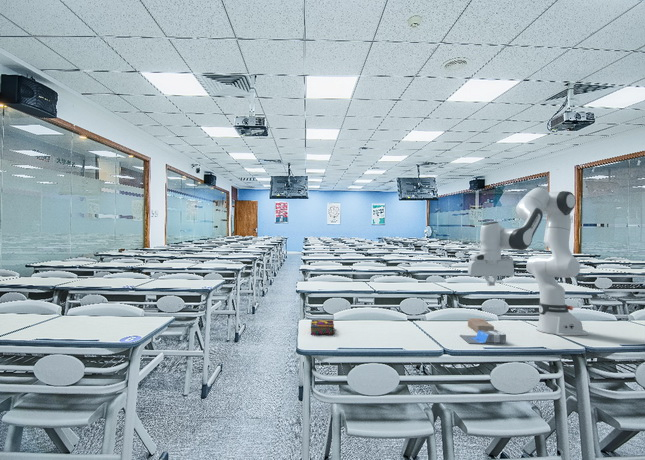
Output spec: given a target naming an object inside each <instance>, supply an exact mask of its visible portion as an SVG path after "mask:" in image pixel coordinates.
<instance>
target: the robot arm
mask: <svg viewBox="0 0 645 460" xmlns="http://www.w3.org/2000/svg"><path fill="white" fill-rule="evenodd" d="M575 206H576V197H575V194H574V193H572V192H571V191H567V190H563V191H550V192H548V190H547V189H545V188H542V187H535V188H532V189H531V190H530V191H529V192H527V193H526V194H525V195H524V196H523V197H522V198H521V199H520V200H519V201H518V203H517V204H516V207H515V211H516V213H517V216H518V217H519V218H520V219H522V220H523V221H524V223H523V225H522V226H521V227H516V228H504V227H503V226H501V225H500V223H499V221H486V222H484V223H482V224H481V226H480V233H479V242H480V249H479V251H480V252H477V253H474V254H470V255H469V261H468V266H467V274H468V275H469V276H470V277H484V280H485V281H486V285H487V286H488V287H491V286H494V287H495V286H496V282H497V279H498V277H513V276H514V275H515V268H514V258H513V257H512V256H510V255H505V256H504V255H502V249H503V250H516V251H526V250H527V249H528V248H529V247H530V246H531V244H532V242H533V237H534V236H535V233H536V232H537V229H538V227H540V224H541V222H542V221H543V217H544V216H543V215H548V217H547V221H546V225H545V230H544V237H543V244H544V246H546V247H547V248H548V249H550V250H551V254H538V255H531V256H530V257H528V259H527V260H526V261H527V262H526V269H527V271H528V272H529V273H530V274H531V275H532V276H533V277H534V278H535V280H536V282H537V284H538V288H539V302H538V313H539V317H538V323H537V326H536V330H537V331H539V332H542V333H546V334H552V335H558V336H563V337H564V336H567V337H568V336H569V337H570V336H589V332H588V331H587V330H585V329H584V327H583V322H582V321H581V320H580V319H579V318H577V316H575V315H573V314H572V312H570V311H573V309H574V307H573V306H572V305H567V304H566V290H565V288H564V287H563V286H562V285H561V284H559V283H558V282H557V281H556V278H562V279H564V278H565V279H569V278H575V277H577V276H578V275H579V273H580V272H581V264H580V261H579V260H578V259H577V258H576V257H574V255H573V254H572V252H571V249H570V235H571V230H572V229H571V225H572V219H571V218H572V217H571V212H572V211H574V208H575ZM490 277H492V281H490ZM569 310H570V311H569Z"/></svg>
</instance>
